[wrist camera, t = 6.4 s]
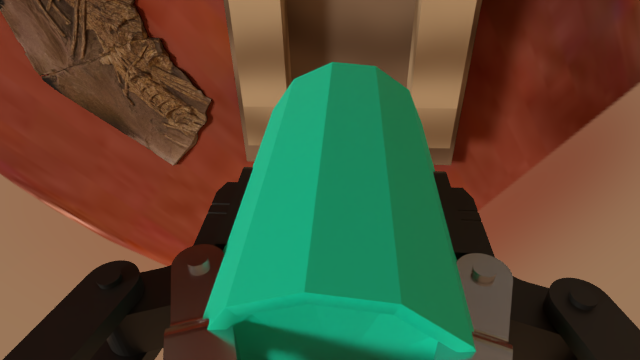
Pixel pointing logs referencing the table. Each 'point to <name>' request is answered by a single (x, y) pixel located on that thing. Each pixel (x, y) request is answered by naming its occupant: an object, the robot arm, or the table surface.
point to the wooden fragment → (111, 69)
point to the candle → (342, 231)
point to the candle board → (354, 54)
